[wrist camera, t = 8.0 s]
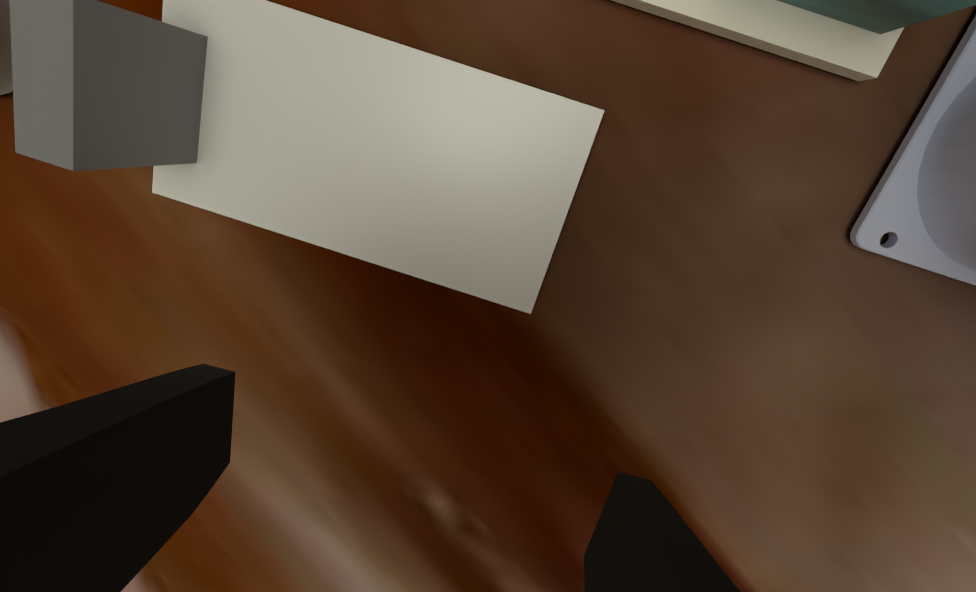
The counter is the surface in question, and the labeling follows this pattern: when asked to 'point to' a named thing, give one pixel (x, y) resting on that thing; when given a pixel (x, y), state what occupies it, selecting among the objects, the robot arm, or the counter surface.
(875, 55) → the cream strip
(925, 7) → the teal block
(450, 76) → the cream and grey bookend
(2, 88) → the rook chess piece
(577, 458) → the counter surface
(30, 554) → the robot arm
